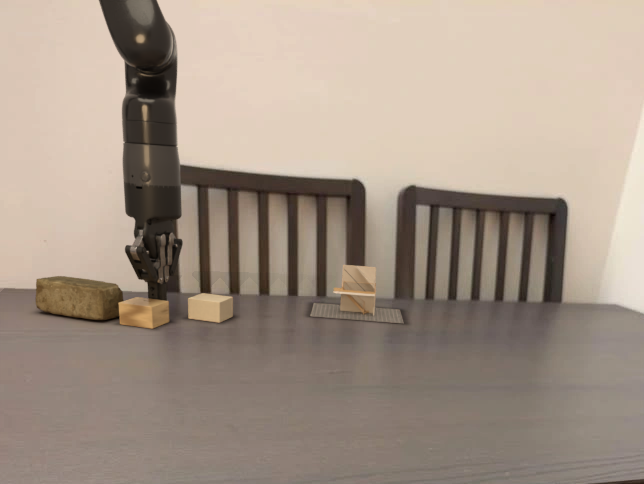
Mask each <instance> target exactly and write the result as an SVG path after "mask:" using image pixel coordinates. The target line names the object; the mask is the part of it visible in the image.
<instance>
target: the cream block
mask: <svg viewBox="0 0 644 484" xmlns="http://www.w3.org/2000/svg"><path fill="white" fill-rule="evenodd" d="M187 311H188V313H187V315H188V317H187V319H189V320H196V321H204V322H210V323H217V324H218V323H219V324H220V323H222V322H224V321H226V320H229V319H231V318H233V317H234V297H233V296H230V295H229V296H228V295H221V294H215V293H205V292H201V293H198V294H196V295H194V296H191V297H187Z"/></svg>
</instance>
